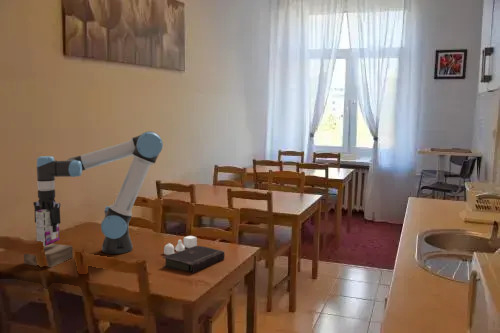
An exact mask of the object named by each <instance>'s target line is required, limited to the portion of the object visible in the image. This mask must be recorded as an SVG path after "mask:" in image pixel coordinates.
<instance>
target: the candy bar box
mask: <svg viewBox="0 0 500 333" xmlns="http://www.w3.org/2000/svg"><path fill="white" fill-rule="evenodd" d="M50 210H51V209H50ZM35 214H36V223H35V231H36V232H35V234H36V242H37V241H41V242H43V246H47V245H49V244H55V243H56V242H58V241H60V224H57V232H56V238H55V239H52V240H51V235H50V226H51V225H52V224H51V220H50V211H49V210H47V209H41V210H38V211H35V210H34V215H35Z"/></svg>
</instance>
